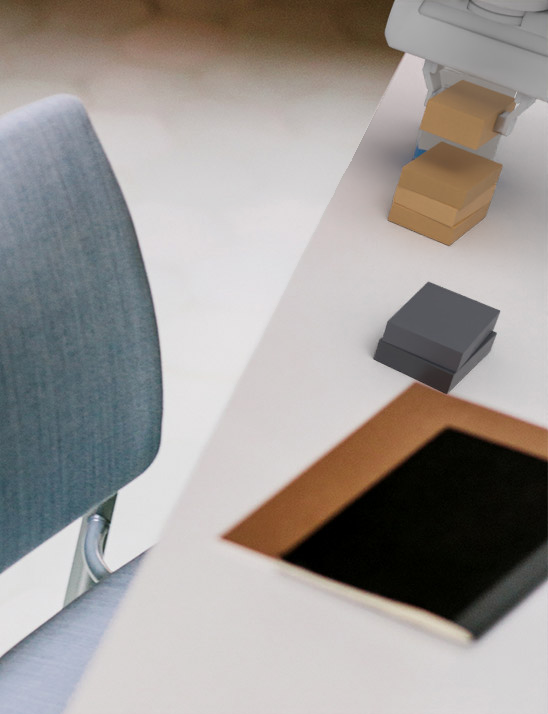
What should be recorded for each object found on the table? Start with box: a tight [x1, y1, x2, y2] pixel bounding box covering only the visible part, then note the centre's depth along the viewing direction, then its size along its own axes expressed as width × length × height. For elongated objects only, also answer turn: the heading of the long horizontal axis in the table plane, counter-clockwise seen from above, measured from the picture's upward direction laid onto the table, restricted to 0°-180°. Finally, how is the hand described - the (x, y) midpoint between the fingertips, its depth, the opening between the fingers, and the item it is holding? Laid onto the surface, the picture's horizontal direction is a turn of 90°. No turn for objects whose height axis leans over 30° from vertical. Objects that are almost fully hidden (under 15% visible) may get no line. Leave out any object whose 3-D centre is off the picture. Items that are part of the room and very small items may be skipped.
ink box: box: [412, 67, 517, 161], centre depth 131 cm, size 9×8×12 cm
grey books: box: [373, 281, 501, 395], centre depth 102 cm, size 7×9×4 cm
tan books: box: [387, 141, 504, 247], centre depth 122 cm, size 7×9×6 cm
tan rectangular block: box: [419, 80, 517, 150], centre depth 116 cm, size 6×8×3 cm
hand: (466, 119), depth 117 cm, fingers closed on tan rectangular block, 6 cm apart
